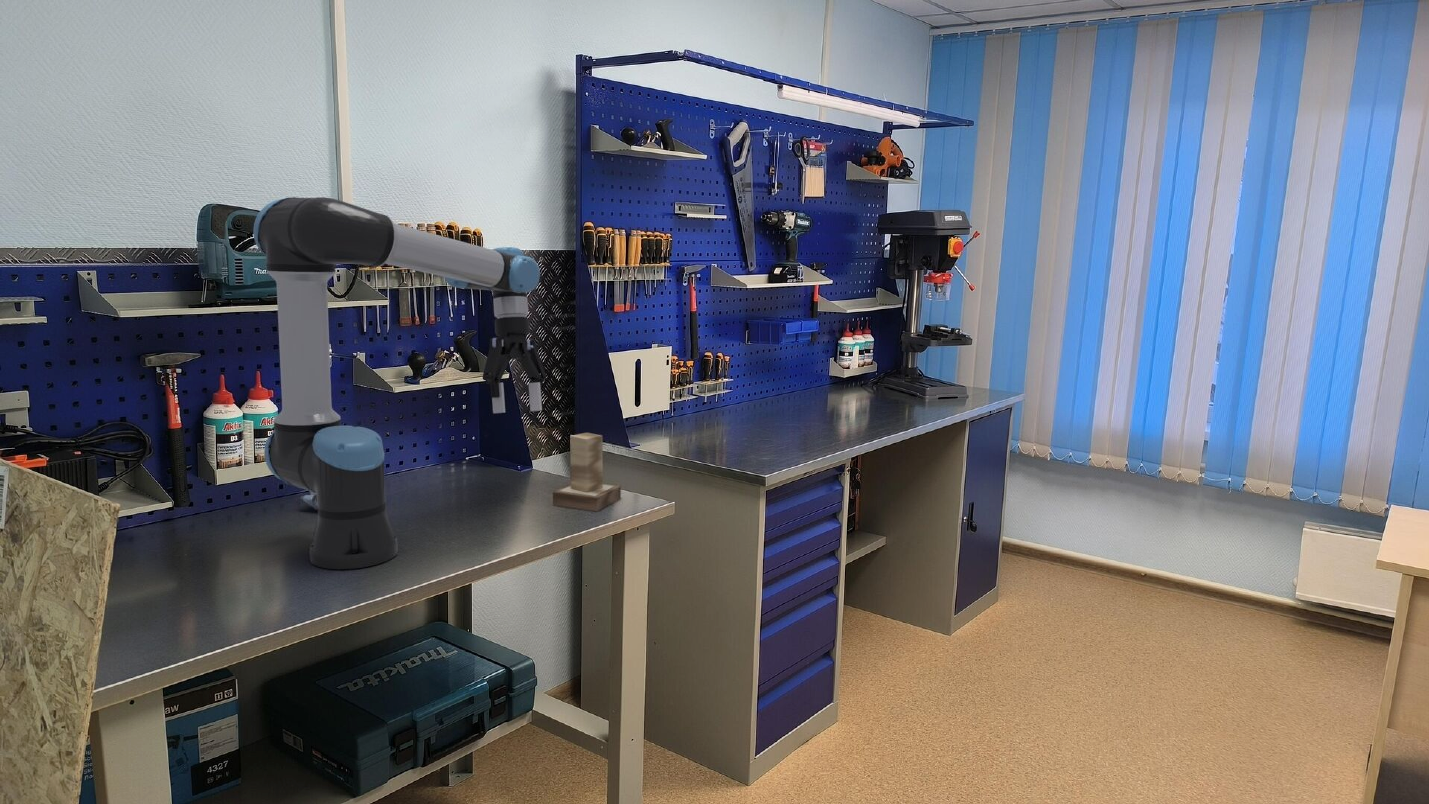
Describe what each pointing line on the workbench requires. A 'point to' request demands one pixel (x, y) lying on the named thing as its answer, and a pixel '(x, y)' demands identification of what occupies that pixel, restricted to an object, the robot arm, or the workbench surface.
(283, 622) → the workbench surface
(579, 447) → the oak block
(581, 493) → the plinth
